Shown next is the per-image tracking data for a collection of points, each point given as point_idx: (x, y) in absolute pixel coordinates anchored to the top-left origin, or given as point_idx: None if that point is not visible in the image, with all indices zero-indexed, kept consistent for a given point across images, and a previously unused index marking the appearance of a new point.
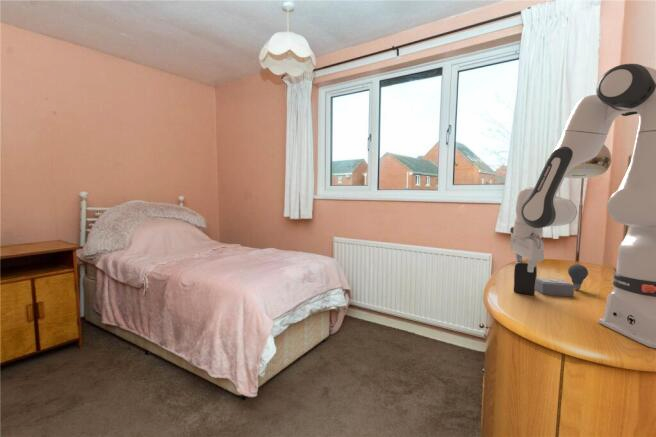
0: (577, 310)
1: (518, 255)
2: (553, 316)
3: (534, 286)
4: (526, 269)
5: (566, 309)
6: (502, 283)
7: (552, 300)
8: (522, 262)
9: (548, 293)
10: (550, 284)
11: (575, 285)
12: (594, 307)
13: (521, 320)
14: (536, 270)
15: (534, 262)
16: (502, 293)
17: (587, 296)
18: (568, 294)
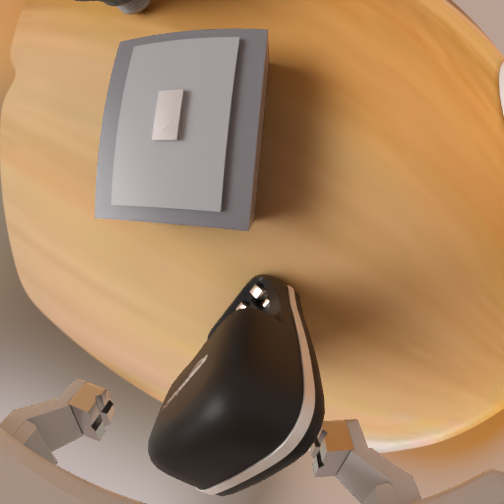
0: (474, 203)
1: (48, 455)
2: (497, 329)
3: (302, 316)
4: (314, 454)
5: (467, 243)
6: (96, 332)
7: (366, 229)
8: (200, 479)
9: (256, 187)
10: (254, 177)
11: (138, 2)
12: (429, 90)
13: (485, 407)
14: (314, 385)
15: (407, 492)
16: None
17: (251, 3)
18: (266, 80)
